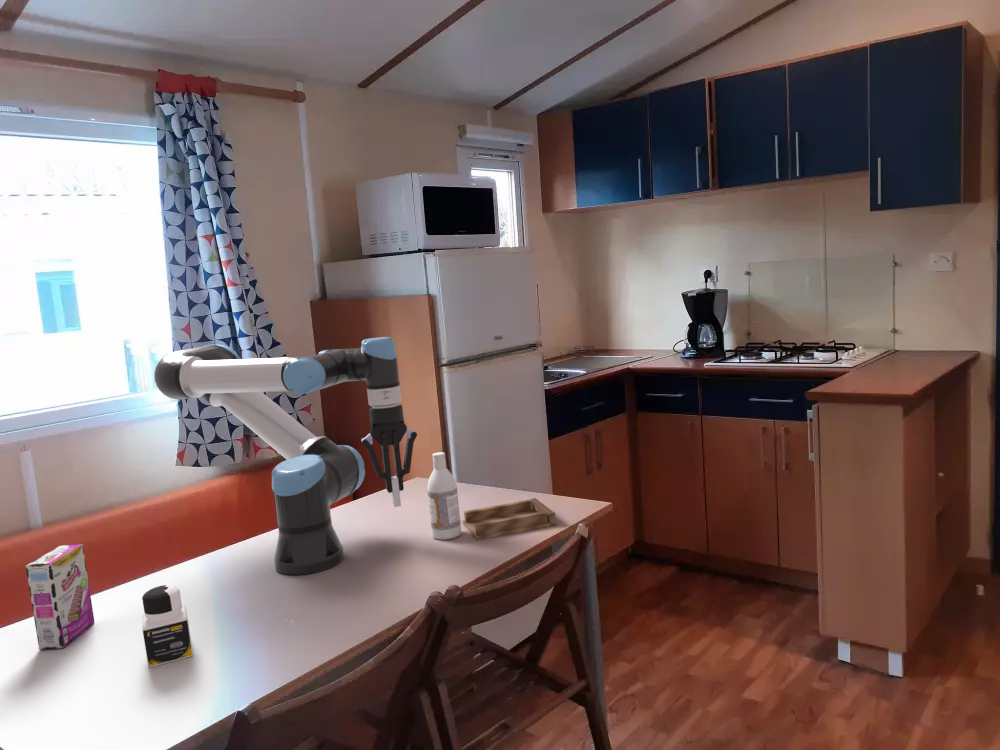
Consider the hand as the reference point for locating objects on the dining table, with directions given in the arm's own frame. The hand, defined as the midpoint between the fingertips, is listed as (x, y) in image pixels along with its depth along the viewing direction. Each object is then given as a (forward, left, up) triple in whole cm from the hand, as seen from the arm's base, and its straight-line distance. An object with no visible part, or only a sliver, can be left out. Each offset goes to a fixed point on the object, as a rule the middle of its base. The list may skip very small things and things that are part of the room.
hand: (396, 504), depth 185 cm
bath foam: (+11, 0, -10) cm, 15 cm away
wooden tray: (+25, 0, -10) cm, 27 cm away
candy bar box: (-67, -17, -10) cm, 70 cm away
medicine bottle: (-47, -35, -10) cm, 59 cm away
